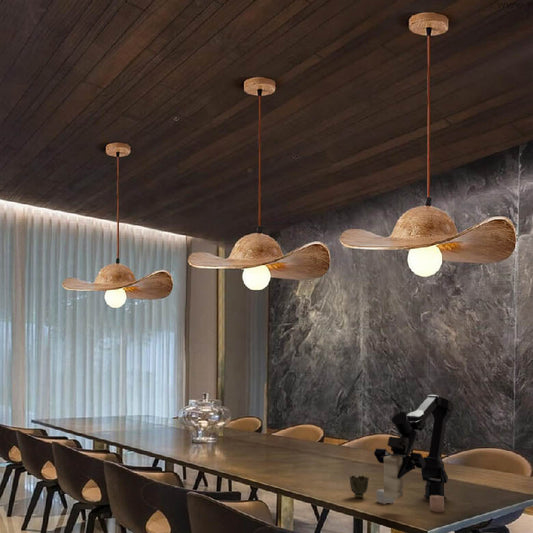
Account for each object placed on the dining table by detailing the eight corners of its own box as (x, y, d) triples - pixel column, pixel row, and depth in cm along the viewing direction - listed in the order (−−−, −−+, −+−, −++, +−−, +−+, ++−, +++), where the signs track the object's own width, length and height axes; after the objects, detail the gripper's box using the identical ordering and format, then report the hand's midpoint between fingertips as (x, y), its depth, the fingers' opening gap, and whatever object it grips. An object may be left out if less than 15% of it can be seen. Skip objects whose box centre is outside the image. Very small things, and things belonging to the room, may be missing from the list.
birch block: (390, 494, 260) (390, 455, 262) (402, 496, 257) (402, 456, 258) (383, 496, 256) (383, 456, 258) (396, 498, 253) (396, 458, 255)
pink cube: (439, 508, 263) (438, 494, 263) (446, 511, 258) (446, 497, 259) (427, 509, 261) (427, 495, 262) (434, 512, 256) (434, 498, 257)
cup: (366, 495, 283) (366, 475, 284) (370, 499, 275) (370, 478, 276) (348, 495, 283) (348, 475, 283) (351, 499, 275) (351, 478, 276)
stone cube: (385, 500, 275) (385, 488, 275) (393, 503, 271) (393, 491, 271) (376, 502, 272) (376, 489, 273) (384, 504, 269) (384, 492, 269)
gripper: (376, 426, 268) (360, 459, 258) (421, 430, 256) (407, 465, 247) (386, 445, 273) (372, 478, 264) (431, 450, 262) (417, 485, 252)
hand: (391, 476), depth 256 cm, fingers closed on birch block, 5 cm apart
